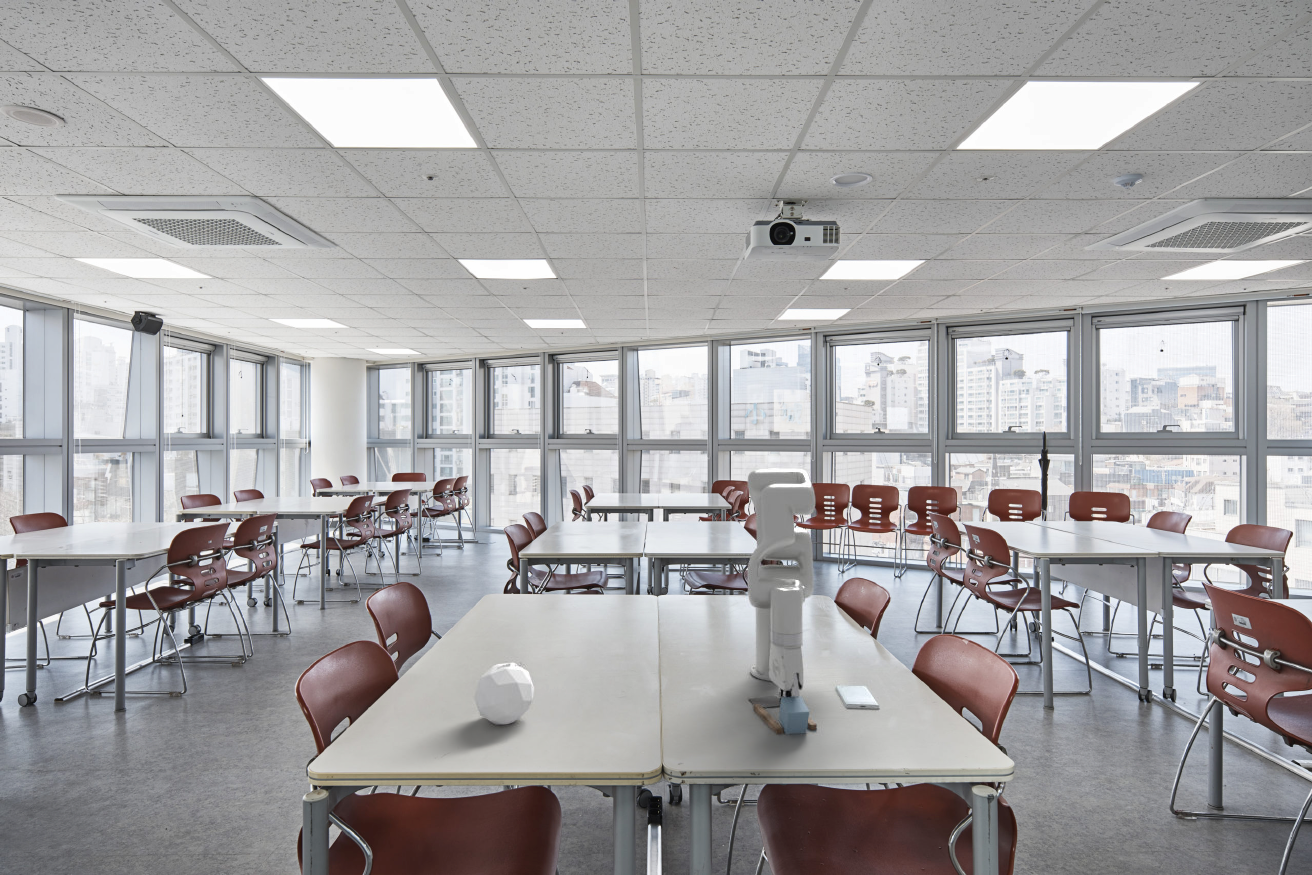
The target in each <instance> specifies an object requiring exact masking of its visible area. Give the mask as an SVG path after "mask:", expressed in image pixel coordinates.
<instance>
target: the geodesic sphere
mask: <svg viewBox="0 0 1312 875" xmlns="http://www.w3.org/2000/svg"><path fill="white" fill-rule="evenodd" d="M524 665H525V664H523V665H522V661H520V662H519V663H518V664H517V663H515V662H507V663H504V662H503V663H498V664H494V665H493V666H492V667H490V668H489V669H488V670H487V671H486V672H485V673H484V674H482V675H481V676H480V677H479V679H478V683H477V685H476V689H475V693H474V696H473V698H474V701H475V705H476V707H477V711H478V713H479V716H481V717H482V718H484V719H485V720H487V721H489V722H491V723H492V724H495V725H509V724H512V723H515V722H516V721H518V720H519V719H520V718H521V717H523V716H524V715H525V714H526V713H527V711H528V710H529V709H530V707H531V705H532V702H533V700H534V694H535V693H534V692H535V687H534V684H533V681H532V678H531V675H530V672H529V670H526V669H525V668H523V667H524Z"/></svg>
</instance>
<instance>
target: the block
mask: <svg viewBox="0 0 1312 875" xmlns="http://www.w3.org/2000/svg"><path fill="white" fill-rule="evenodd" d="M809 715H810V710H809V708H808V706H807V704H806V702H805V701H804V699H803V696H800V695H799V697H796V698H793V697H781V703H780V707H779V713H778V720H779V722H780V726H781V727H782V728H783V733H784V734H785V735H791V734H792V735H794V734H807V732H808V727H807V725H808V718H810V716H809Z"/></svg>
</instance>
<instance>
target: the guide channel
mask: <svg viewBox="0 0 1312 875" xmlns="http://www.w3.org/2000/svg"><path fill="white" fill-rule="evenodd" d="M747 701H748V702H750V703H751V704H752V705H753V710H754V712H756V714H757V715H758V716H759V717H760V718H761V719H762V720H763V721H764V722H765V723H766V724H767V725H768V726H769V727H770V728H771V729H772V730H773V732H774V733H776V735H782V734H784V730H783V727H782V725H781V724H779V723H778V722H777V720H776V719H774V717H773V716H771V714H770V713H769V712H767V710H766V709H771V708H780V697H779V696H778V695H771V696H761V697H751V698H748V700H747ZM817 726H818V725H817V723H816V722H815V721H814V720H813V719H811V718H810V717H809V718H808V725H807V729H809V730H810V731H816V730H817V729H818V728H817Z"/></svg>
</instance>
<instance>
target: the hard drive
mask: <svg viewBox="0 0 1312 875" xmlns="http://www.w3.org/2000/svg"><path fill="white" fill-rule="evenodd" d="M835 690H836V692H837V694H838V696H839V697H840V699H841V701H842V702H843V704H844V706H845V708H846V709H869V710H870V709H873V710H874V709H875V710H877V709H878V710H879V709H880V705H879V703H878V701H876V699H875V698H874V696H873V695H872V693H871V691H870V690H869V688H868V687H867V686H865V685H835Z"/></svg>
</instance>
